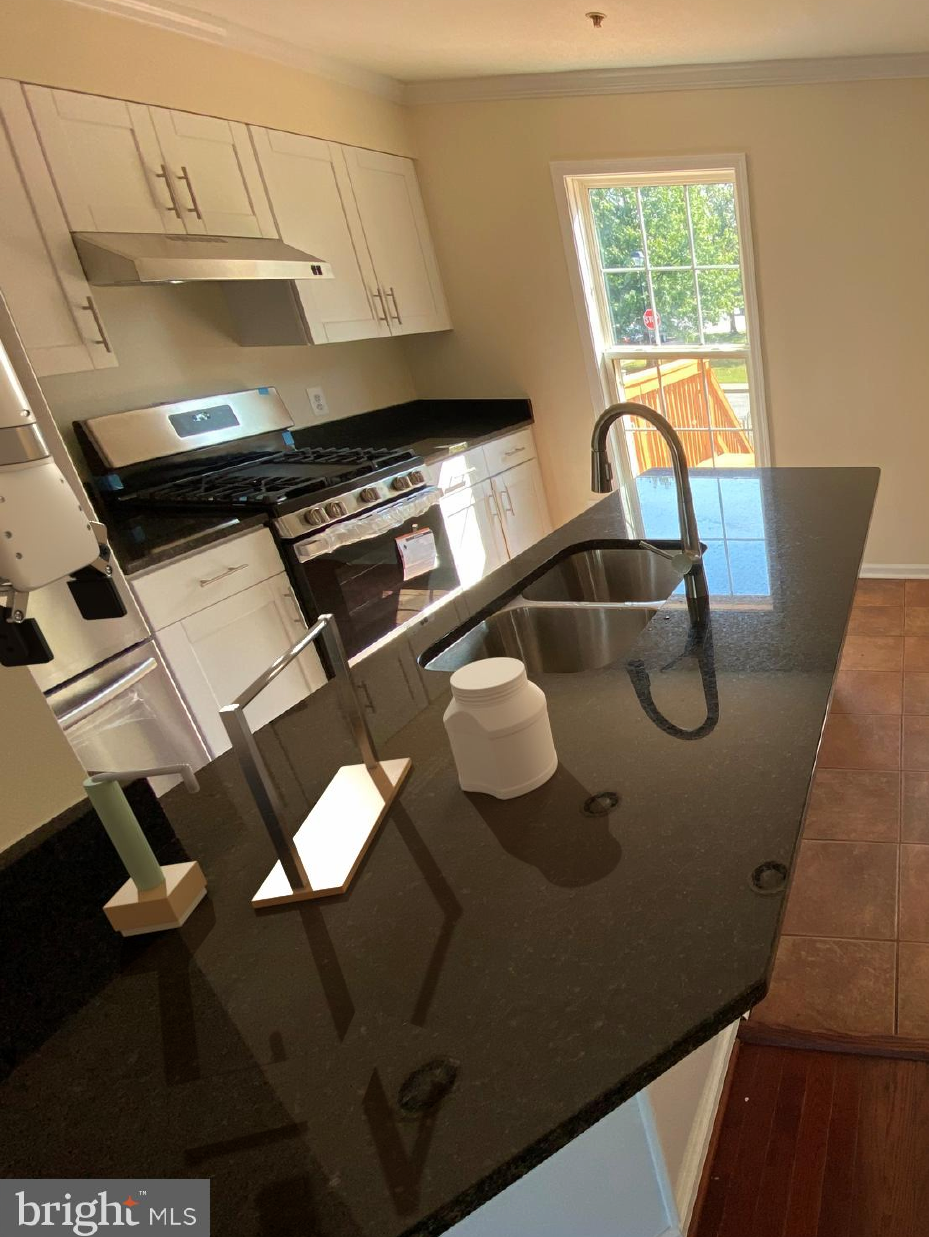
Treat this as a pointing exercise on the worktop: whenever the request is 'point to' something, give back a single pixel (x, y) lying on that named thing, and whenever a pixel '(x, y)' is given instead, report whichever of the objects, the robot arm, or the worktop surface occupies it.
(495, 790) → the jar
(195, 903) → the hook stand
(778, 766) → the worktop surface
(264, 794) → the metal frame rack
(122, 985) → the worktop surface
